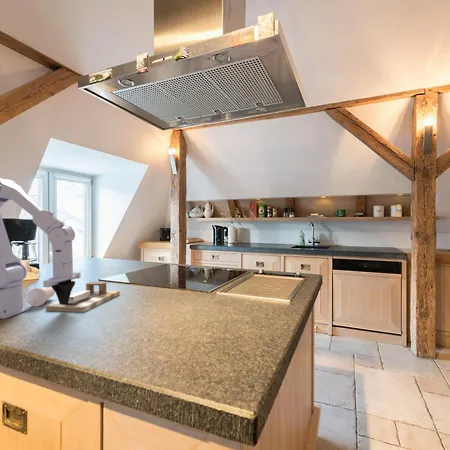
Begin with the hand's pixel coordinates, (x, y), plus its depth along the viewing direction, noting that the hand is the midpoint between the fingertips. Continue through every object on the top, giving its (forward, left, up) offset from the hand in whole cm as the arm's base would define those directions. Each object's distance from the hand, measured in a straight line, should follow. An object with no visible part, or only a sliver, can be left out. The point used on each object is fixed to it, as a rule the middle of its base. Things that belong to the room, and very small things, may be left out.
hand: (63, 304), depth 96 cm
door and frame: (+11, 0, -2) cm, 11 cm away
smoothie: (+13, +17, 0) cm, 21 cm away
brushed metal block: (+7, 0, 0) cm, 7 cm away
